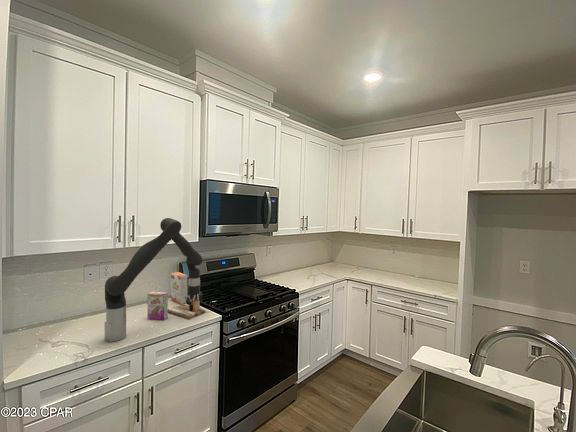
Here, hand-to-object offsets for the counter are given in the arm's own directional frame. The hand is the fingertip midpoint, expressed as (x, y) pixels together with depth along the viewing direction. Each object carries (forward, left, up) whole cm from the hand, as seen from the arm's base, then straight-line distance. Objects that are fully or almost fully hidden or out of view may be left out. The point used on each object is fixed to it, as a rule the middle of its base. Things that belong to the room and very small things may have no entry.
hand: (194, 309), depth 193 cm
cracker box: (+8, +25, -2) cm, 26 cm away
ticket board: (-4, +4, -2) cm, 6 cm away
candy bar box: (-20, +11, -2) cm, 23 cm away
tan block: (0, 0, 0) cm, 0 cm away
